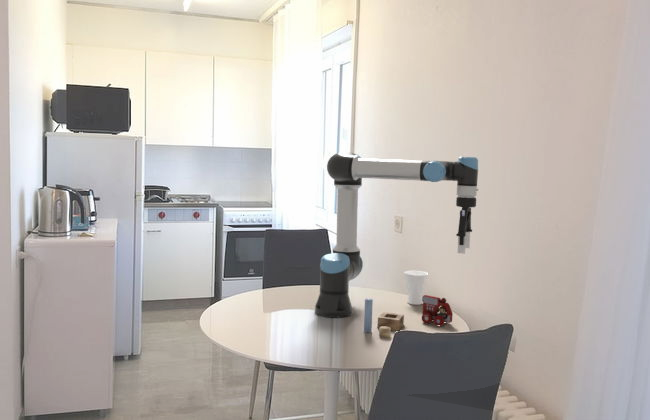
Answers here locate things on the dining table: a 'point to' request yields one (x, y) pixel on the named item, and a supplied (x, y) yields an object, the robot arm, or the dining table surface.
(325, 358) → the dining table surface
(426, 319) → the toy fire truck
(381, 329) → the loose oak bead
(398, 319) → the wooden block with hole
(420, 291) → the cup
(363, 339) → the dining table surface
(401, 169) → the robot arm
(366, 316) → the blue rectangular block
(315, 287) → the dining table surface
